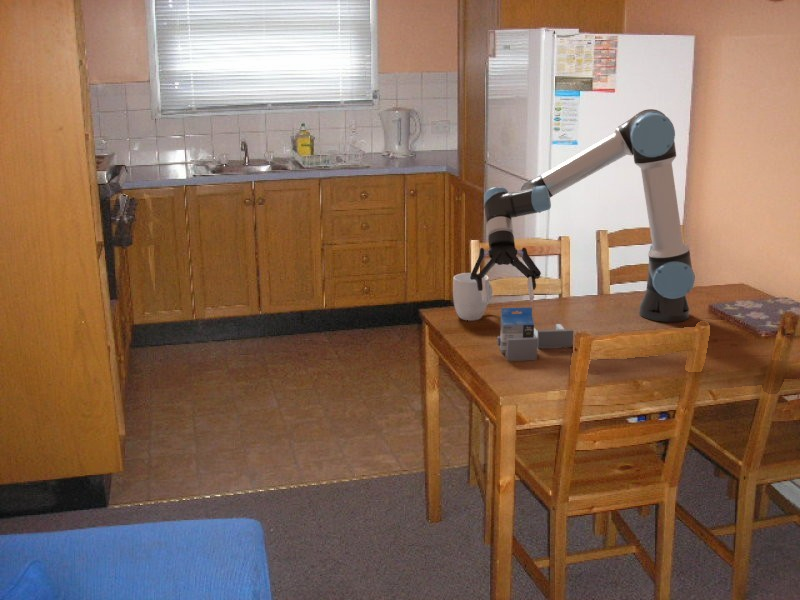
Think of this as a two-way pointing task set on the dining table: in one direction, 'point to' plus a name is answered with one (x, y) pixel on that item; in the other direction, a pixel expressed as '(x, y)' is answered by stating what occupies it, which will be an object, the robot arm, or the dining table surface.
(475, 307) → the mug
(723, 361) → the dining table surface
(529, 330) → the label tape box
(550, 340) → the dock
